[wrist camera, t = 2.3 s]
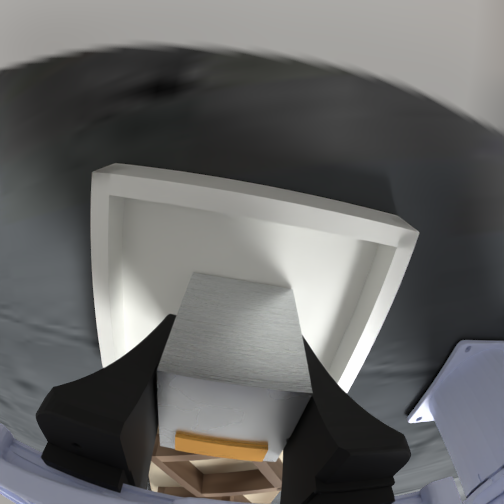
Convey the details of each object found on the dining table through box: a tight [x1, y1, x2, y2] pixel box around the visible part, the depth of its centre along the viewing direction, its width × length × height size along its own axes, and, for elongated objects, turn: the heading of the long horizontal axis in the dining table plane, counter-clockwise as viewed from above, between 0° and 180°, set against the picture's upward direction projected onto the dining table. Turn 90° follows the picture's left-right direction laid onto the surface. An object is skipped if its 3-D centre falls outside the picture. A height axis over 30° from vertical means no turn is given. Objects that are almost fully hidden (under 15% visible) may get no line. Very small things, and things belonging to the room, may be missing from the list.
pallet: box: [149, 425, 283, 504], centre depth 21 cm, size 12×22×3 cm, turn 169°
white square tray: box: [91, 163, 420, 393], centre depth 14 cm, size 13×13×2 cm
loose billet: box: [157, 272, 313, 462], centre depth 12 cm, size 4×4×6 cm
